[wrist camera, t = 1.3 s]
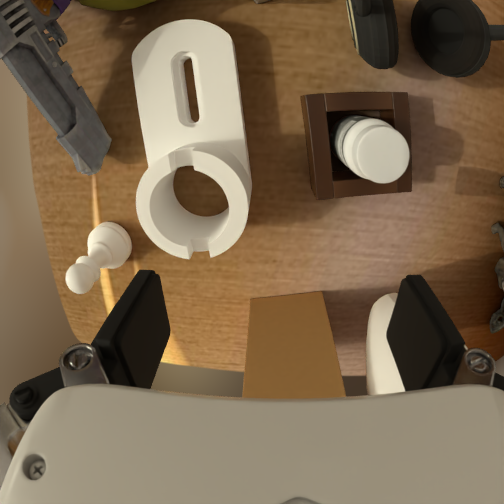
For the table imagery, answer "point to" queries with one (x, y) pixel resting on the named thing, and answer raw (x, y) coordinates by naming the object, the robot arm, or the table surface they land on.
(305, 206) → the table surface
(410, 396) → the robot arm
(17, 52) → the handgun
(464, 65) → the headphones
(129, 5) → the apple
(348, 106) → the holder
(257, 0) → the grey angled piece
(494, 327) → the corroded twin loop
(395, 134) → the pill bottle
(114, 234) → the chess pawn
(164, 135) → the bracket
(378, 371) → the cup
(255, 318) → the black-topped square pillar
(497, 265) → the rhino figurine
